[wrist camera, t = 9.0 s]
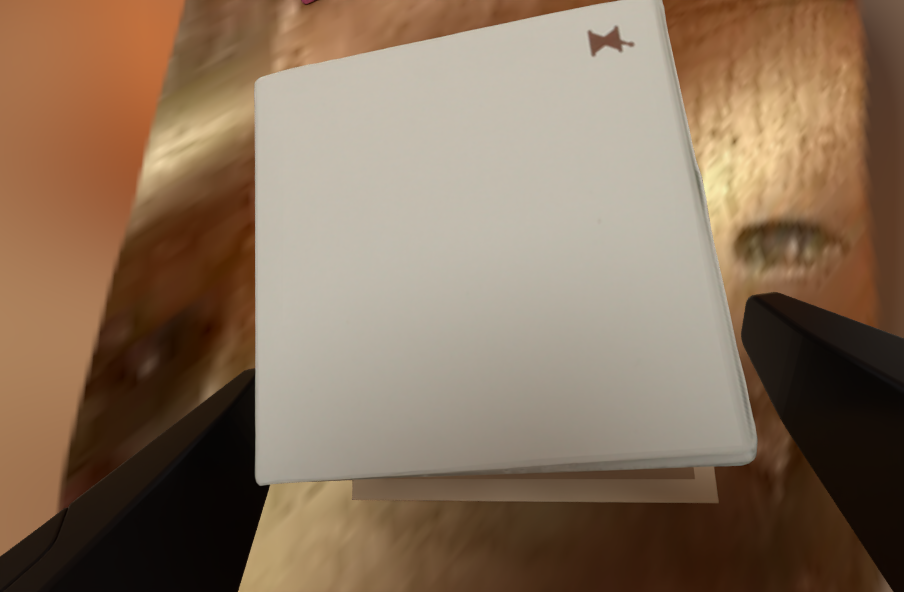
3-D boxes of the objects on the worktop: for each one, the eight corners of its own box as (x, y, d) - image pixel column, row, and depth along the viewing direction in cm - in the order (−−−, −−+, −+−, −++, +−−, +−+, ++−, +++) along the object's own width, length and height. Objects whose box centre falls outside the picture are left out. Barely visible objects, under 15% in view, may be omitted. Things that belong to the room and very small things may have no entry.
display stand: (703, 494, 18) (730, 510, 16) (365, 491, 20) (342, 505, 18) (660, 166, 21) (677, 138, 18) (367, 196, 23) (348, 174, 21)
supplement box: (415, 254, 20) (244, 58, 8) (586, 233, 19) (678, -31, 7) (426, 425, 19) (235, 495, 7) (612, 413, 18) (787, 469, 6)
